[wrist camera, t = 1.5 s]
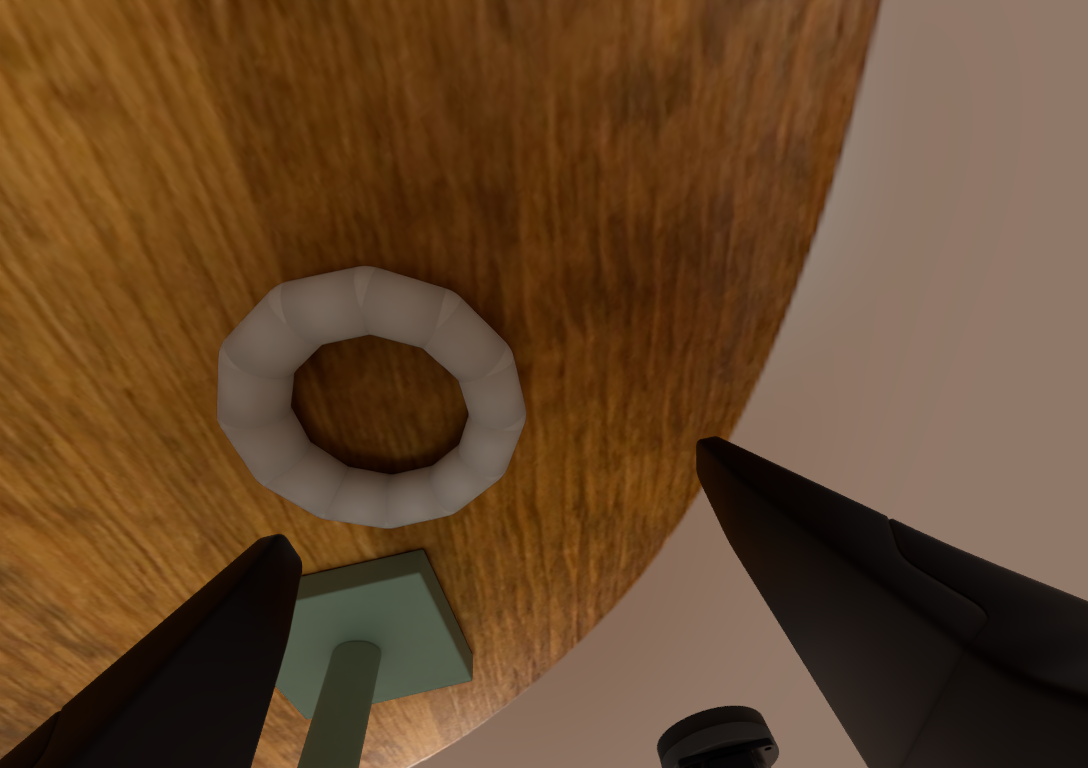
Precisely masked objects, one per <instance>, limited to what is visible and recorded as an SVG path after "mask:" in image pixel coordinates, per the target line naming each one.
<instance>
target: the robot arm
mask: <svg viewBox="0 0 1088 768" xmlns="http://www.w3.org/2000/svg"><path fill="white" fill-rule="evenodd" d="M696 470H697V475H698V478H699V481H700V483H701V485H702V487H703V489H704V491H705V493H706V495H707V497H708V499H709V502H710V504H711V506H712V508H713V510H714V512H715V514H716V516H717V518H718V520H719V522H720V525H721V527H722V529H723V531H724V533H725V535H726V537H727V539H728V541H729V543H730V545H731V546H732V548H733V550H734V551H735V553H736V555H737V556H738V558H739V560H740V561H741V563H742V564H743V566H744V568H745V569H746V571H747V572H748V574H749V576H750V577H751V579H752V580H753V582H754V584H755V585H756V587H757V589H758V590H759V592H760V593H761V595H762V597H763V598H764V600H765V601H766V603H767V605H768V606H769V608H770V610H771V611H772V613H773V614H774V616H775V618H776V619H777V621H778V623H779V624H780V626H781V627H782V629H783V631H784V632H785V634H786V635H787V637H788V639H789V640H790V642H791V644H792V645H793V647H794V648H795V650H796V652H797V653H798V655H799V656H800V658H801V660H802V661H803V663H804V664H805V666H806V668H807V669H808V671H809V672H810V674H811V676H812V677H813V679H814V681H815V682H816V684H817V685H818V687H819V689H820V690H821V692H822V693H823V695H824V697H825V698H826V700H827V701H828V703H829V705H830V707H831V708H832V710H833V711H834V713H835V715H836V716H837V718H838V719H839V721H840V722H841V724H842V726H843V727H844V729H845V731H846V732H847V734H848V736H849V737H850V739H851V740H852V742H853V744H854V745H855V747H856V749H857V750H858V752H859V753H860V755H861V756H862V758H863V760H864V761H865V763H866V764H867V766H868V768H1088V601H1086V600H1083V599H1081V598H1078V597H1076V596H1073V595H1071V594H1068V593H1066V592H1064V591H1061V590H1059V589H1056V588H1054V587H1051V586H1049V585H1046V584H1043V583H1041V582H1039V581H1036V580H1033V579H1031V578H1028V577H1026V576H1024V575H1021V574H1019V573H1016V572H1014V571H1011V570H1008V569H1006V568H1004V567H1001V566H998V565H996V564H994V563H991V562H989V561H986V560H984V559H982V558H979V557H977V556H974V555H972V554H970V553H967V552H965V551H963V550H960V549H958V548H955V547H953V546H951V545H949V544H946V543H944V542H942V541H940V540H937V539H935V538H933V537H931V536H929V535H927V534H924V533H922V532H920V531H918V530H915V529H913V528H911V527H909V526H907V525H905V524H903V523H901V522H898V521H896V520H894V519H888V517H887V516H885V515H883V514H881V513H879V512H877V511H875V510H873V509H871V508H868V507H866V506H864V505H862V504H860V503H858V502H855V501H854V500H851V499H849V498H847V497H845V496H843V495H841V494H839V493H837V492H834V491H832V490H830V489H828V488H826V487H824V486H822V485H820V484H817V483H815V482H813V481H811V480H809V479H807V478H804V477H803V476H800V475H798V474H796V473H794V472H792V471H790V470H787V469H786V468H783V467H781V466H779V465H777V464H775V463H773V462H771V461H768V460H766V459H764V458H762V457H760V456H758V455H756V454H754V453H752V452H749V451H747V450H745V449H743V448H741V447H739V446H737V445H735V444H732V443H730V442H728V441H726V440H724V439H722V438H720V437H717V436H713V437H708V438H704V439H700V440H699V441H698V442H697V445H696ZM301 573H302V562H301V559H300V557H299V555H298V554H297V552H296V551H295V549H294V548H293V547H292V545H291V544H290V542H289V541H288V539H287V538H286V537H285V536H284V535H282V534H276V535H271V536H267V537H263V538H260V539H259V540H257V541H256V542H255V543H254V544H253V545H251V546H250V547H249V548H248V549H247V550H246V551H244V552H243V553H242V554H241V555H240V556H239V557H237V558H236V559H235V560H234V561H233V562H232V563H230V564H229V565H228V566H227V567H226V568H225V569H223V570H222V571H221V572H220V573H219V574H218V575H216V576H215V577H214V578H213V579H212V580H211V581H209V582H208V583H207V584H206V585H205V586H204V587H202V588H201V589H200V590H199V591H198V592H196V593H195V594H194V595H193V596H192V597H191V598H189V599H188V600H187V601H186V602H185V603H184V604H182V605H181V606H180V607H179V608H178V609H177V610H175V611H174V612H173V613H172V614H171V615H170V616H168V617H167V618H166V619H165V620H164V621H163V622H161V623H160V624H159V625H158V626H157V627H156V628H154V629H153V630H152V631H151V632H150V633H149V634H147V635H146V636H145V637H144V638H143V639H142V640H140V641H139V642H138V643H137V644H136V645H134V646H133V647H132V648H131V649H130V650H129V651H127V652H126V653H125V654H124V655H123V656H122V657H120V658H119V659H118V660H117V661H116V662H115V663H113V664H112V665H111V666H110V667H109V668H108V669H106V670H105V671H104V672H103V673H102V674H101V675H99V676H98V677H97V678H96V679H95V680H94V681H92V682H91V683H90V684H89V685H88V686H87V687H85V688H84V689H83V690H82V691H81V692H79V693H78V694H77V695H76V696H75V697H74V698H72V699H71V700H70V701H69V702H68V703H67V704H65V705H64V706H63V708H62V709H61V711H58V712H56V713H55V714H54V715H52V716H51V717H50V718H49V719H48V720H47V721H45V722H44V723H43V724H42V725H41V726H40V727H38V728H37V729H36V730H35V731H34V732H33V733H31V734H30V735H29V736H28V737H27V738H25V739H24V740H23V741H22V742H21V743H20V744H18V745H17V746H16V747H15V748H14V749H12V750H11V751H10V752H9V753H8V754H6V755H5V756H4V757H3V758H2V759H0V768H251V765H252V762H253V758H254V755H255V752H256V748H257V745H258V742H259V738H260V735H261V732H262V728H263V725H264V722H265V718H266V715H267V712H268V708H269V705H270V701H271V698H272V695H273V691H274V688H275V685H276V681H277V678H278V675H279V671H280V668H281V665H282V661H283V658H284V654H285V651H286V647H287V643H288V639H289V635H290V630H291V625H292V620H293V615H294V609H295V604H296V599H297V594H298V589H299V584H300V579H301ZM774 751H775V745H774V743H773V741H772V739H771V738H763V739H759V740H754V741H750V742H746V743H742V744H738V745H734V746H730V747H726V748H721V749H717V750H713V751H709V752H705V753H701V754H697V755H693V756H688V757H684V758H681V759H679V760H678V761H677V768H771V766H772V761H773V756H774Z"/></svg>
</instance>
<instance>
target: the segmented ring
mask: <svg viewBox="0 0 1088 768" xmlns="http://www.w3.org/2000/svg"><path fill="white" fill-rule="evenodd" d="M365 335H374V336H378V337H382V338H386V339H389V340H393V341H397V342H401V343H404V344H408V345H412V346H416V347H420V348H423V349H424V350H425V351H426V352H427V353H428V354H429V355H431V356H432V357H433V358H434V359H435V360H436V361H437V362H439V363H440V364H441V365H442V366H443V367H444V368H445V369H446V370H448V371H449V372H450V373H451V374H452V375H453V376H454V377H456V378H457V379H458V381H459V384H460V387H461V390H462V394H463V397H464V400H465V403H466V406H467V409H468V413H469V416H468V419H467V422H466V425H465V428H464V431H463V434H462V437H461V440H460V444H459V445H457V446H456V447H455V448H454V449H453V450H451V451H450V452H449V453H448V454H446V455H445V456H444V457H443V458H442V459H440V460H439V461H438V462H437V463H435V464H434V465H433V466H429V467H425V468H420V469H416V470H411V471H407V472H402V473H397V474H393V475H392V474H386V473H381V472H375V471H370V470H364V469H359V468H353V467H348V466H346V465H345V464H343V463H342V462H340V461H339V460H337V459H336V458H334V457H333V456H331V455H330V454H328V453H327V452H325V451H324V450H322V449H321V448H319V447H318V446H316V445H315V444H313V443H312V442H310V440H309V439H308V437H307V435H306V433H305V431H304V430H303V428H302V426H301V424H300V422H299V421H298V419H297V417H296V415H295V413H294V412H293V410H292V408H291V400H292V391H293V382H294V374H295V371H296V370H297V369H298V368H299V367H300V366H301V365H302V364H303V363H304V362H305V361H306V360H307V359H308V358H309V357H310V356H311V355H312V354H313V353H314V352H315V351H316V350H317V349H318V348H319V347H320V346H321V345H323V344H327V343H332V342H337V341H341V340H346V339H351V338H356V337H360V336H365ZM217 418H218V423H219V425H220V427H221V428H222V430H223V431H224V433H225V434H226V436H227V437H228V439H229V440H230V442H231V443H232V445H233V446H234V448H235V449H236V451H237V452H238V454H239V455H240V457H241V458H242V460H243V461H244V463H245V464H246V466H247V467H248V469H249V470H250V472H251V473H252V475H253V476H254V478H255V479H256V480H257V481H258V482H259V483H260V484H262V485H263V486H265V487H266V488H268V489H270V490H272V491H273V492H275V493H277V494H279V495H280V496H282V497H284V498H285V499H287V500H289V501H291V502H292V503H294V504H296V505H298V506H299V507H301V508H303V509H305V510H306V511H308V512H310V513H311V514H313V515H315V516H317V517H319V518H322V519H326V520H333V521H340V522H346V523H353V524H360V525H366V526H373V527H379V528H396V527H400V526H405V525H409V524H413V523H418V522H422V521H427V520H431V519H436V518H440V517H445V516H449V515H452V514H454V513H456V512H457V511H459V510H460V509H461V508H463V507H464V506H465V505H467V504H468V503H469V502H471V501H472V500H473V499H474V498H476V497H477V496H478V495H480V494H481V493H482V492H484V491H485V490H486V489H488V488H489V487H490V486H491V485H493V484H494V483H495V482H497V481H498V480H499V479H500V478H501V477H502V476H503V475H504V473H505V472H506V469H507V467H508V465H509V462H510V460H511V457H512V454H513V452H514V449H515V447H516V444H517V442H518V439H519V437H520V434H521V432H522V429H523V426H524V424H525V421H526V407H525V403H524V399H523V395H522V390H521V386H520V382H519V378H518V373H517V369H516V365H515V361H514V356H513V353H512V351H511V349H510V347H509V346H508V344H507V343H506V342H505V341H504V340H503V339H502V338H501V337H500V336H499V335H498V334H497V333H496V332H495V331H494V330H493V329H492V328H491V327H490V326H489V325H488V324H487V323H486V322H485V321H484V320H483V319H482V318H481V317H480V316H479V315H478V314H477V313H476V312H475V311H474V310H473V309H472V308H471V307H470V306H469V305H468V304H467V303H466V302H465V301H464V300H463V299H462V298H461V297H460V296H459V295H457V294H456V293H454V292H453V291H451V290H448V289H446V288H443V287H439V286H436V285H433V284H429V283H426V282H423V281H420V280H416V279H413V278H410V277H407V276H403V275H400V274H397V273H393V272H390V271H387V270H384V269H380V268H377V267H372V266H359V267H354V268H349V269H344V270H340V271H335V272H330V273H325V274H320V275H316V276H311V277H306V278H301V279H296V280H292V281H287V282H284V283H281V284H279V285H277V286H275V287H274V288H273V289H272V290H271V291H269V292H268V293H267V295H266V296H265V297H264V298H263V299H262V300H261V301H260V302H259V303H258V304H257V305H256V306H255V307H254V308H253V310H252V311H251V312H250V313H249V314H248V315H247V316H246V317H245V318H244V319H243V320H242V321H241V322H240V323H239V325H238V326H237V327H236V328H235V329H234V330H233V331H232V332H231V333H230V334H229V335H228V336H227V337H226V339H225V340H224V341H223V343H222V345H221V348H220V351H219V363H218V396H217Z"/></svg>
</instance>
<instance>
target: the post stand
mask: <svg viewBox="0 0 1088 768" xmlns="http://www.w3.org/2000/svg"><path fill="white" fill-rule="evenodd" d="M472 675H473V656H472V653H471V651H470V649H469V647H468V645H467V643H466V640H465V638H464V636H463V634H462V632H461V630H460V628H459V625H458V623H457V621H456V619H455V617H454V615H453V613H452V610H451V608H450V606H449V604H448V602H447V600H446V597H445V595H444V593H443V591H442V589H441V587H440V585H439V582H438V580H437V578H436V576H435V574H434V572H433V570H432V567H431V565H430V563H429V561H428V559H427V557H426V555H425V552H424V550H418V551H413V552H409V553H404V554H400V555H395V556H391V557H387V558H382V559H378V560H373V561H369V562H365V563H360V564H356V565H351V566H347V567H342V568H338V569H334V570H329V571H325V572H320V573H316V574H311V575H307V576H303V577H301V579H300V584H299V589H298V594H297V599H296V604H295V609H294V615H293V620H292V625H291V630H290V635H289V639H288V643H287V647H286V651H285V654H284V658H283V661H282V665H281V668H280V671H279V675H278V678H277V681H276V685H275V686H276V687H277V688H278V689H279V690H280V692H281V693H282V694H283V695H284V696H285V697H286V698H287V699H288V700H289V701H290V702H291V703H292V704H293V706H294V707H295V708H296V709H297V710H298V711H299V712H300V713H301V714H302V715H303V716H304V717H305V718H306V719H311V718H312V721H311V724H310V727H309V731H308V734H307V737H306V741H305V744H304V747H303V750H302V754H301V757H300V760H299V764H298V767H297V768H359V763H360V758H361V754H362V749H363V744H364V739H365V734H366V729H367V724H368V719H369V714H370V709H371V705H372V704H375V703H379V702H383V701H388V700H392V699H396V698H401V697H405V696H409V695H413V694H418V693H422V692H426V691H430V690H435V689H439V688H443V687H447V686H452V685H456V684H460V683H464V682H469V681H472Z"/></svg>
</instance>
